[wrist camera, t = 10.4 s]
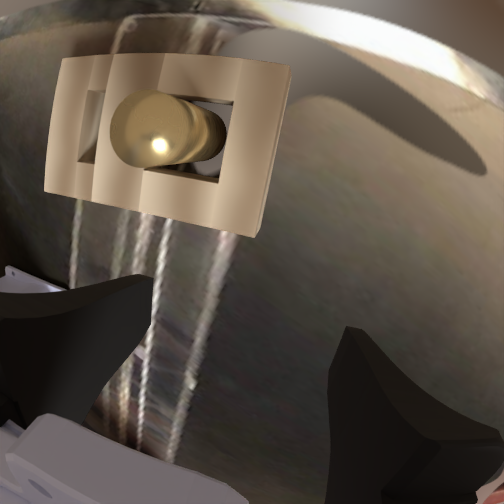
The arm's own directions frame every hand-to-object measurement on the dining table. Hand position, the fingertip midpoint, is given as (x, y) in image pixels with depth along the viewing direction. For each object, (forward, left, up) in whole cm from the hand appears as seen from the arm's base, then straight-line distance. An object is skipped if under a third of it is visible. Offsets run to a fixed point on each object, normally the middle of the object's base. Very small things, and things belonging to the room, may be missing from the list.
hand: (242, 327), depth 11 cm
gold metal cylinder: (-6, +6, -10) cm, 13 cm away
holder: (-9, +6, -10) cm, 15 cm away
